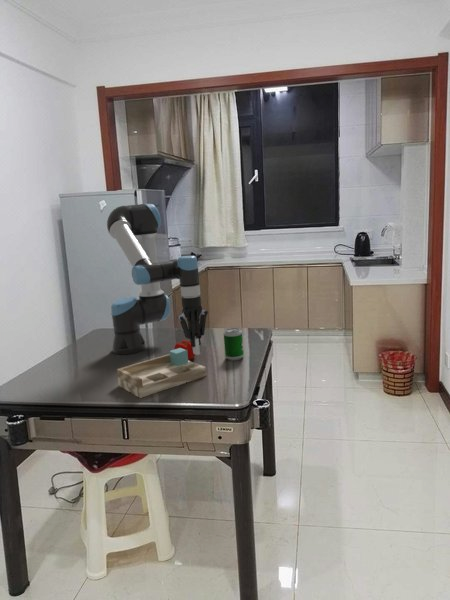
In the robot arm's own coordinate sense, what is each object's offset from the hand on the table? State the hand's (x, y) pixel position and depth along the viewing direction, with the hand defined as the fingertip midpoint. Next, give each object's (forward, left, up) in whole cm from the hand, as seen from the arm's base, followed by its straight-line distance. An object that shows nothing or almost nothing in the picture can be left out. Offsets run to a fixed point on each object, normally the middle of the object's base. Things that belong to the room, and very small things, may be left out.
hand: (196, 353), depth 202 cm
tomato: (-11, +2, -5) cm, 13 cm away
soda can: (+4, +16, -5) cm, 17 cm away
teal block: (0, -8, -2) cm, 8 cm away
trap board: (+3, -18, -5) cm, 19 cm away
